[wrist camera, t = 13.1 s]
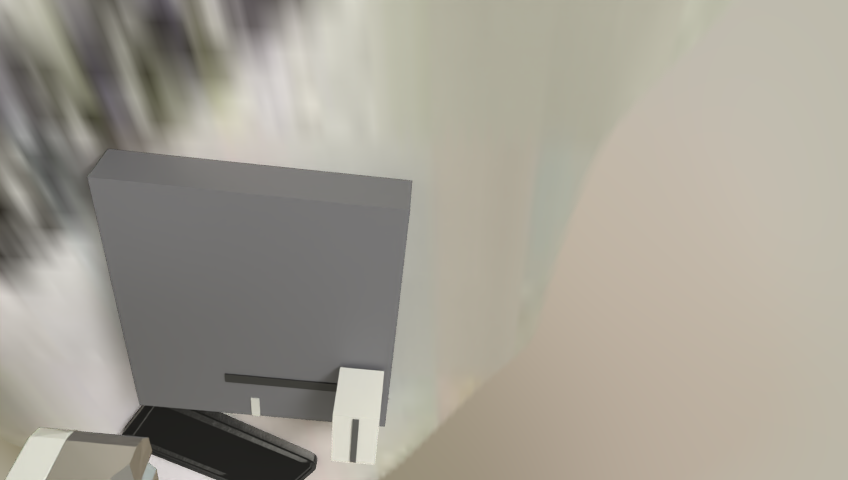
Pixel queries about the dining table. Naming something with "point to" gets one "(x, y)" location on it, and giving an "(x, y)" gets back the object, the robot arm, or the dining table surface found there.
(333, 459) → the fader knob
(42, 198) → the dining table surface
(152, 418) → the phone
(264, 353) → the mixer panel
